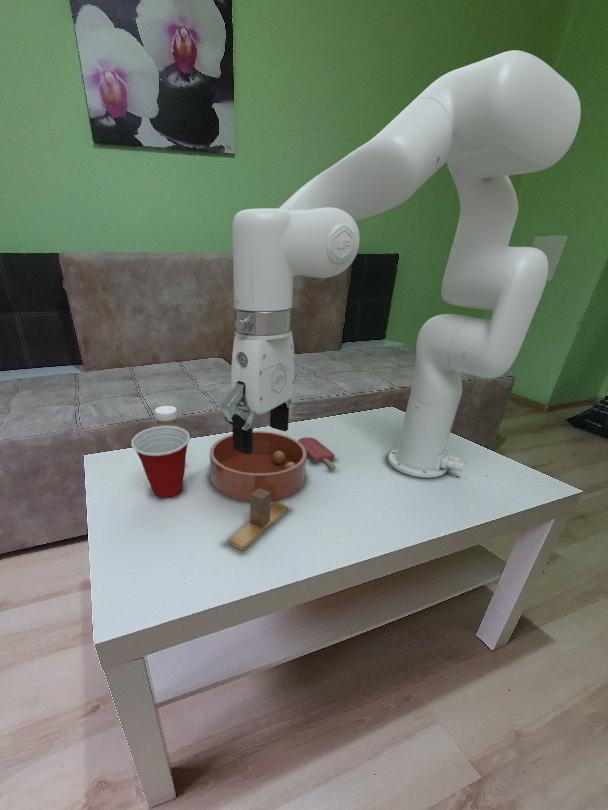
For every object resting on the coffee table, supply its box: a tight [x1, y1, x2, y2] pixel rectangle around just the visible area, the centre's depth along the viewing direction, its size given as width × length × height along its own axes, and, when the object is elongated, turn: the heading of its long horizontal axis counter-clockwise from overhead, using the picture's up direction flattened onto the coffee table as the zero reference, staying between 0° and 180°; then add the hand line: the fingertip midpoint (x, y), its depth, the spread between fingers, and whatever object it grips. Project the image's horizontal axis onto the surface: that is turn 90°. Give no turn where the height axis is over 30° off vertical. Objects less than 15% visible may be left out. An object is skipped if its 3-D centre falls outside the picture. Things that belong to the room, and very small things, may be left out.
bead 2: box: [284, 462, 296, 470], centre depth 82 cm, size 3×3×3 cm
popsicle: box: [297, 436, 336, 469], centre depth 91 cm, size 5×2×15 cm
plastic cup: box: [130, 426, 191, 499], centre depth 75 cm, size 11×11×12 cm
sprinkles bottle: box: [154, 405, 179, 427], centre depth 83 cm, size 5×5×13 cm
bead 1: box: [272, 451, 286, 464], centre depth 86 cm, size 3×3×3 cm
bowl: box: [209, 430, 307, 502], centre depth 82 cm, size 20×20×6 cm
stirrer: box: [227, 488, 289, 552], centre depth 66 cm, size 14×3×7 cm, turn 143°
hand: (261, 439), depth 60 cm, fingers open, 9 cm apart
